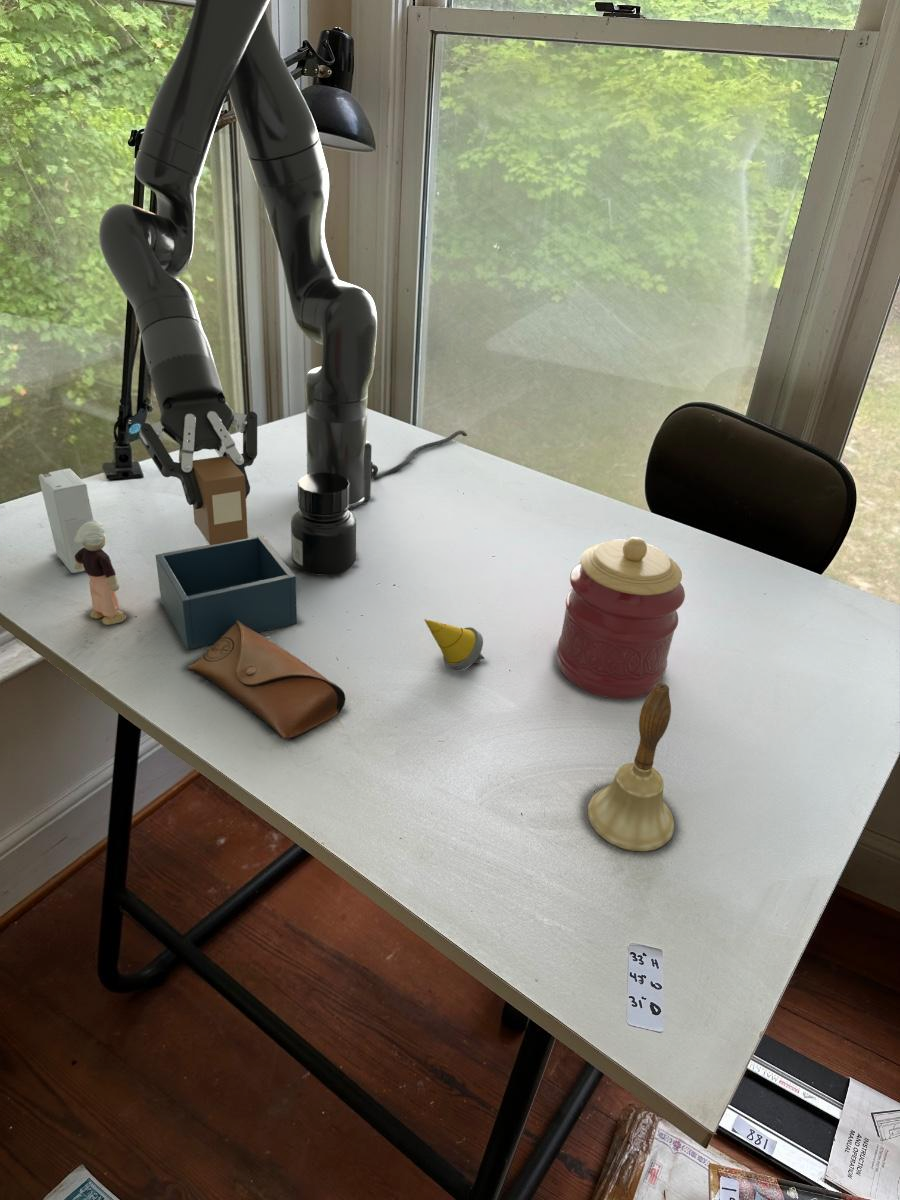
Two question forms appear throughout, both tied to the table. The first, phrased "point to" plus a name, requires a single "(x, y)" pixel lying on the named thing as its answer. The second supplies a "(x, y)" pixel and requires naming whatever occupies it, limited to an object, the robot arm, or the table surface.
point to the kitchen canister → (620, 618)
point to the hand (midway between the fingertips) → (221, 502)
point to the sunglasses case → (270, 682)
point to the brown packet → (221, 500)
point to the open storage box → (226, 589)
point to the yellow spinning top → (457, 644)
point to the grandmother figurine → (98, 572)
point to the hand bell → (638, 788)
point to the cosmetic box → (66, 512)
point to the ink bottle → (323, 525)
